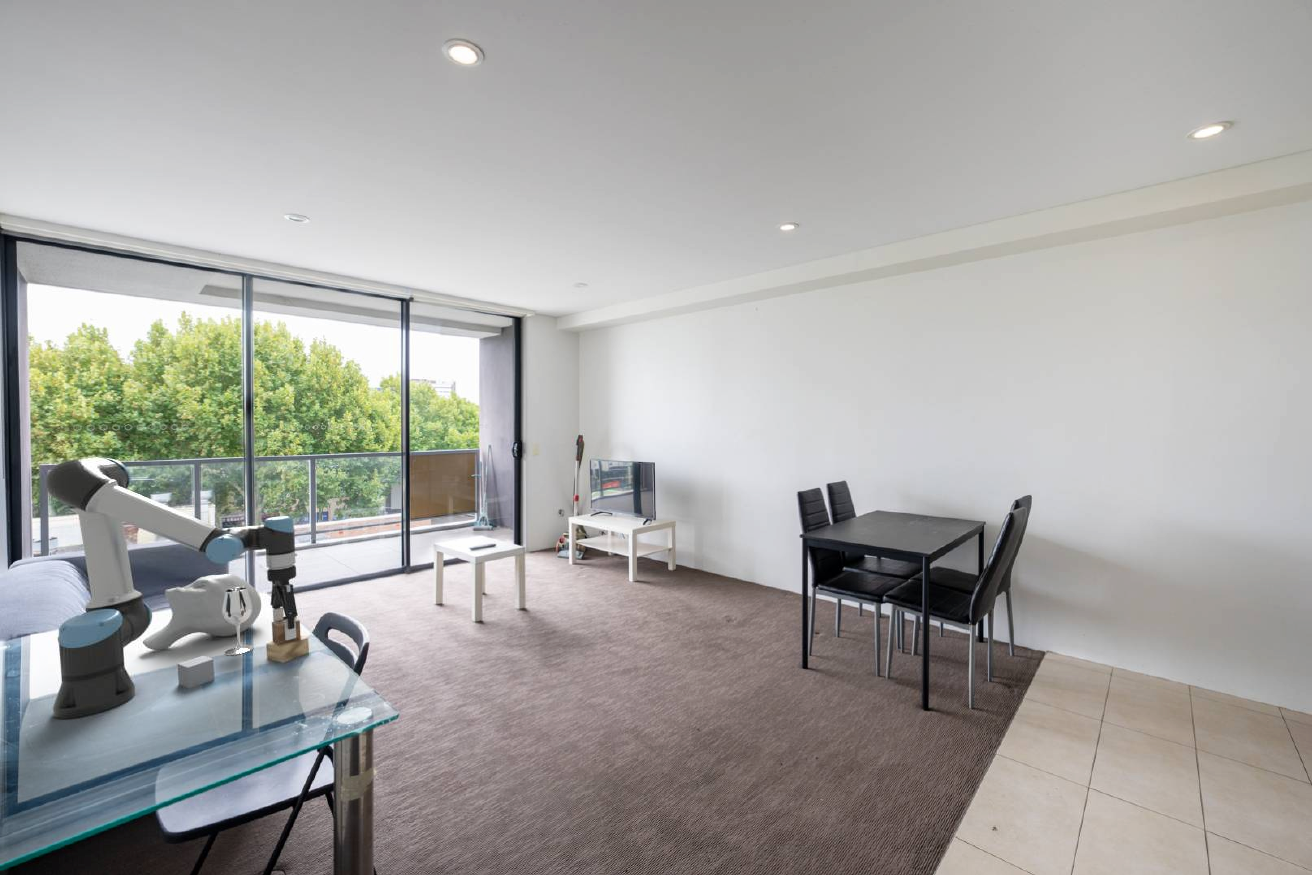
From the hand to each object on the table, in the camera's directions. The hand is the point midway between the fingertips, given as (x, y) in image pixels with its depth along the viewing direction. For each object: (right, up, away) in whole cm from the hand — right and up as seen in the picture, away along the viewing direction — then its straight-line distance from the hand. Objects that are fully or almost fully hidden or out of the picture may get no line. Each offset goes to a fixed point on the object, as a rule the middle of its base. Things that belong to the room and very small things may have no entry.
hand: (284, 633), depth 173 cm
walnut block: (0, -2, 0) cm, 2 cm away
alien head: (-39, -8, +17) cm, 43 cm away
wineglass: (-18, -8, +5) cm, 20 cm away
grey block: (-14, -8, -17) cm, 23 cm away
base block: (+1, -7, 0) cm, 7 cm away
